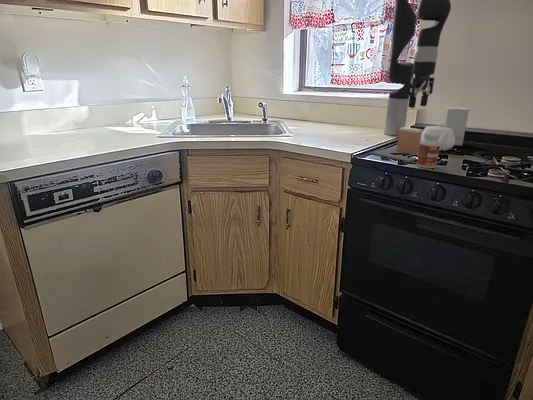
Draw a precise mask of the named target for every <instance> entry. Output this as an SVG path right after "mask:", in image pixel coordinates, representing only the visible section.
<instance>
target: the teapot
mask: <svg viewBox="0 0 533 400" xmlns="http://www.w3.org/2000/svg"><path fill="white" fill-rule="evenodd" d="M442 125H444V122H439V121H438V122H436V125H427V126H425V128H424V129H422V135H421V141H422V140H423V139H424V133H437V134H440V136H439V139H438V141H439V142H440V150H439V151H441V150H443V151H448V150H450V149H451V148H453V147H454V146H455V145H454V144H455V136H454V132H453V129H452V128H448V127H444V126H442ZM421 141H420V143H421Z"/></svg>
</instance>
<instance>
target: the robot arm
mask: <svg viewBox="0 0 533 400" xmlns="http://www.w3.org/2000/svg"><path fill="white" fill-rule="evenodd" d="M415 2H416V4H417V8H416V13H415V11H414V9H413V7H412V5H411V4H410V2H409V0H394V12H393V18H392V19H393V22H392V32H391V34H392V35H391V37H392V39H391V51H390V52H391V53H390V54H391V55H390V62H389V69H388V81H389V83H390V84H391V83H392V84H403V86H402V87H400V88H397V89H395V90H392V91H391V90H390V92H389V94H388V103H387V108H386V109H387V110H386V115H385V123H384V129H383V133H384V134H385V135H387V136H397V137H398V136H399V130H400V128H402V127H406V123H407V118H408V115H407V114H408V108H411V109H414V108H415V107H416V102H417V96H418V94H419V93H421V98H420V104H419V105H420V106H421V107H427V105H428V98H429V96H430V95H432V94H433V92H434V91H433V90H434V84H435V77H431V76H432V75H433V76H434V74H435V72H436V67H437V65H436V64H437V59H438V53H439V44H440V40H441V39H440V38H441V35H442V31H443V28H444V27H445V23H446V22H447V19H448V17H449V14H450V12H451V9H452V5H451V1H450V0H415ZM417 18H418V19H419V20H421V21H427V22H428V21H434V23H433V24H432V25H431V26H430V27H425V28H422V29H421V30H419V32H418V37H417V45H416V49H415V53H414V58H413V63H412V62H399V61H398V60H399V57H400V56H401V54H402V53H403V51H404V49H405V48H406V47H407V46H408V44H409V43H410V42H411V40H412V39H413V37H414V35H415V32H416V23H417Z"/></svg>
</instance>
